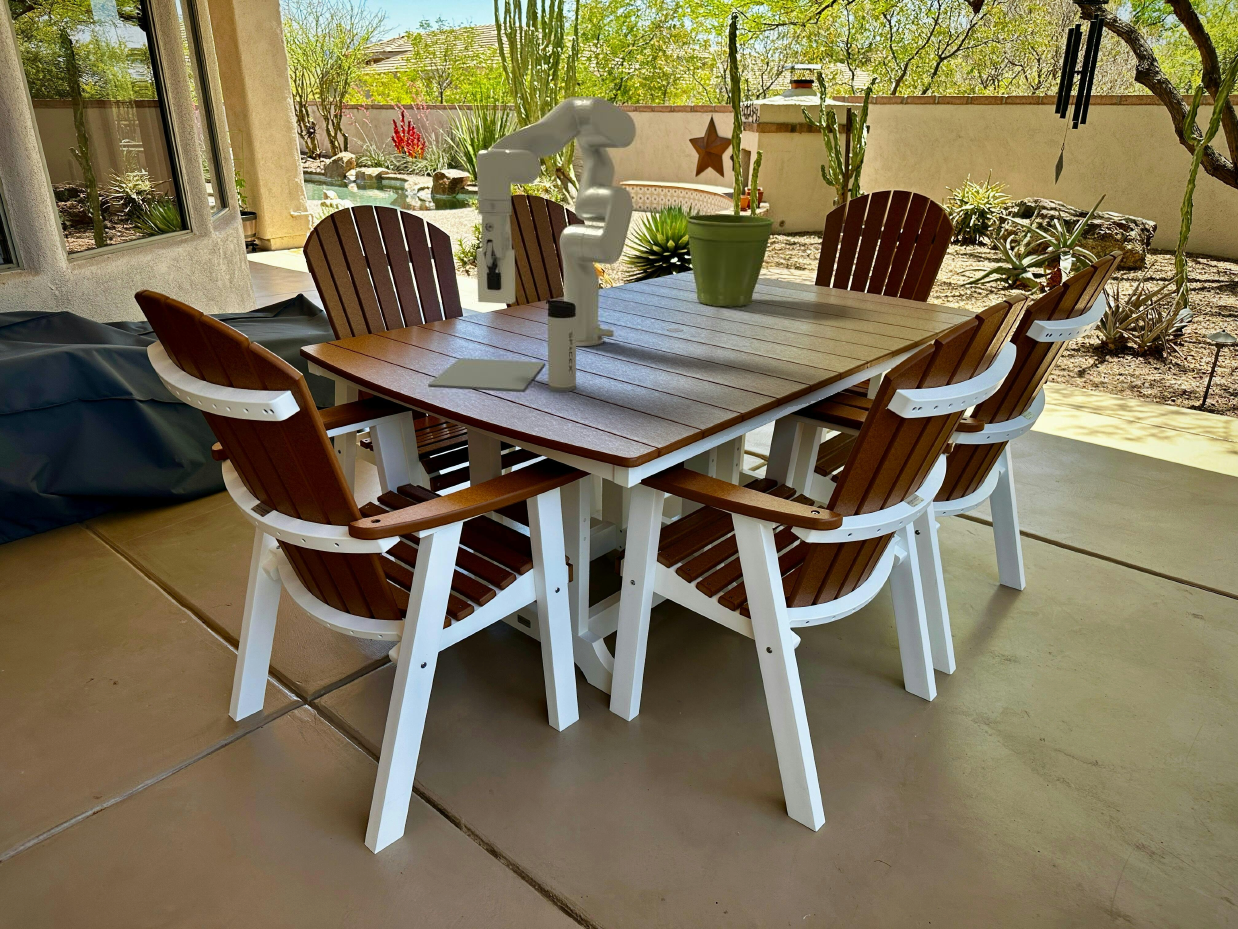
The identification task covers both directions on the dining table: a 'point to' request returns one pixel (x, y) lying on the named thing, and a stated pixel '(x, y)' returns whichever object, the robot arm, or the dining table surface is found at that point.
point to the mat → (488, 374)
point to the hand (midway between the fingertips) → (496, 287)
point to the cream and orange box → (506, 279)
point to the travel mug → (561, 345)
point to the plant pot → (727, 256)
